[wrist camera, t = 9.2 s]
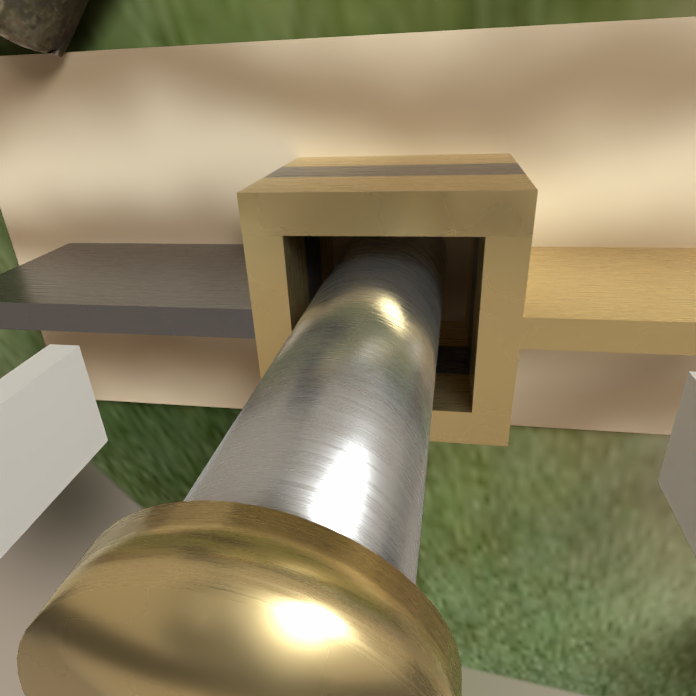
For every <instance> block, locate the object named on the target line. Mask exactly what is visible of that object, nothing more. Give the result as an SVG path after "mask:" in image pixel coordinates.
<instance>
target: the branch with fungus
mask: <svg viewBox="0 0 696 696" xmlns="http://www.w3.org/2000/svg"><path fill="white" fill-rule="evenodd" d="M88 2H89V0H0V36H2V37H4V38H6V39H7V40H9V41H11V42H13V43H15V44H18V45H20V46H22V47H24V48H28V49H31V50H34V51H38V52H42V53H47V52H49V51H51V50H53V49H54V50H53V53H52V55H58V56H60V57H62V56H63V55H64V53H65V51H66V50H67V47H68V45H69V43H70V41H71V39H72V37H73V35H74V33H75V31H76V29H77V26H78V24H79V22H80V20H81V17H82V15H83V13H84V11H85V8H86V6H87V4H88Z"/></svg>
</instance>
